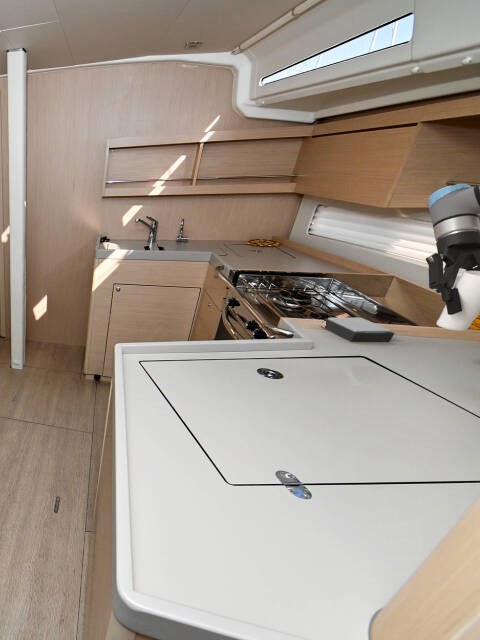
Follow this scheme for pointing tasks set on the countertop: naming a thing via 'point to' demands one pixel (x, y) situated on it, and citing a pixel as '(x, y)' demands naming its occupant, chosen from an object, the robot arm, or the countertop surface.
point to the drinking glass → (464, 303)
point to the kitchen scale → (358, 330)
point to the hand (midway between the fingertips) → (474, 314)
